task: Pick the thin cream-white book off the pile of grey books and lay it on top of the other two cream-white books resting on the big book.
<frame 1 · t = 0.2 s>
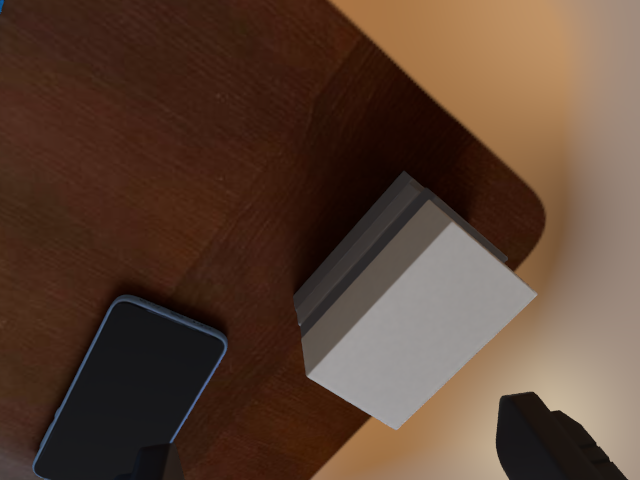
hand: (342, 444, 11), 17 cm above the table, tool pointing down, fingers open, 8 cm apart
smartphone: (129, 400, 30), on the table
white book: (403, 302, 24), point 5 cm above the table, touching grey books
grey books: (380, 261, 28), on the table
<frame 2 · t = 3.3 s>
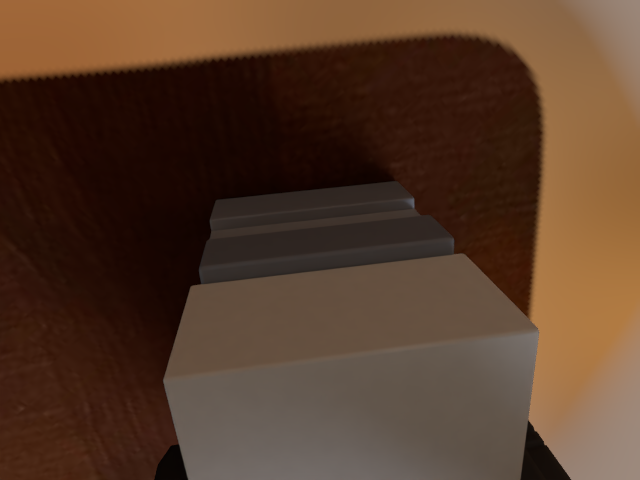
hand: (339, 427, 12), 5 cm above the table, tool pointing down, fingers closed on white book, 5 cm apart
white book: (342, 439, 12), point 5 cm above the table, touching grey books, gripper
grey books: (319, 328, 16), on the table
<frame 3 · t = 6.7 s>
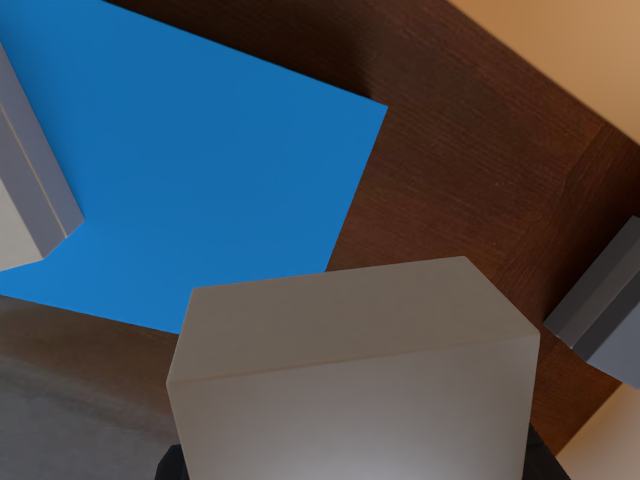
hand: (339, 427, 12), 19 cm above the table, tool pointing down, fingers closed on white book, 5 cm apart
book: (131, 167, 28), on the table, touching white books
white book: (343, 441, 12), point 20 cm above the table, touching gripper
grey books: (611, 286, 35), on the table
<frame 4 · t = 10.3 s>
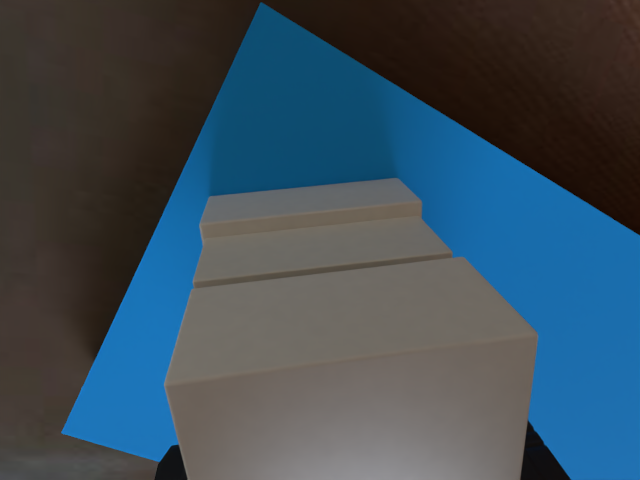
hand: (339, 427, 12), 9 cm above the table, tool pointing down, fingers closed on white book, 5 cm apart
book: (416, 326, 22), on the table, touching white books
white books: (316, 321, 17), point 4 cm above the table, touching book, gripper
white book: (342, 441, 12), point 9 cm above the table, touching gripper
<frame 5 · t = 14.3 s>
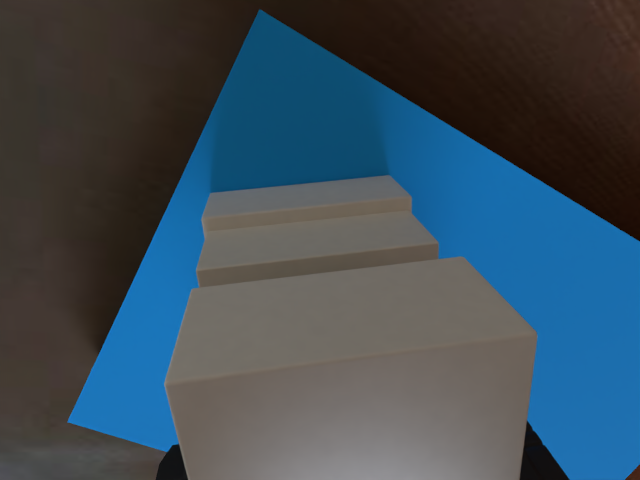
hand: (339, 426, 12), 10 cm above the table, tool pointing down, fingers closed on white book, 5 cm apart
book: (410, 320, 23), on the table, touching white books
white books: (312, 313, 17), point 4 cm above the table, touching book
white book: (342, 441, 12), point 10 cm above the table, touching gripper
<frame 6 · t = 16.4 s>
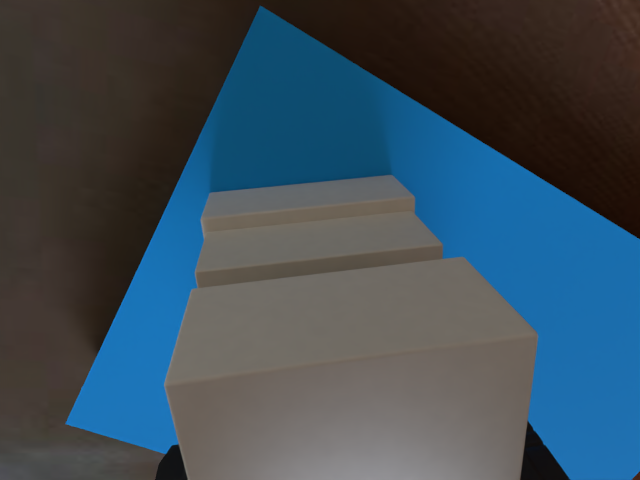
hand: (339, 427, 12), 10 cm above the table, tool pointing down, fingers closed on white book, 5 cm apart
book: (412, 322, 23), on the table, touching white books
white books: (313, 315, 17), point 4 cm above the table, touching book
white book: (342, 441, 12), point 10 cm above the table, touching gripper
when the fingers open (10 cm above the table, at t = 17.9 s): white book drops 1 cm, resting on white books.
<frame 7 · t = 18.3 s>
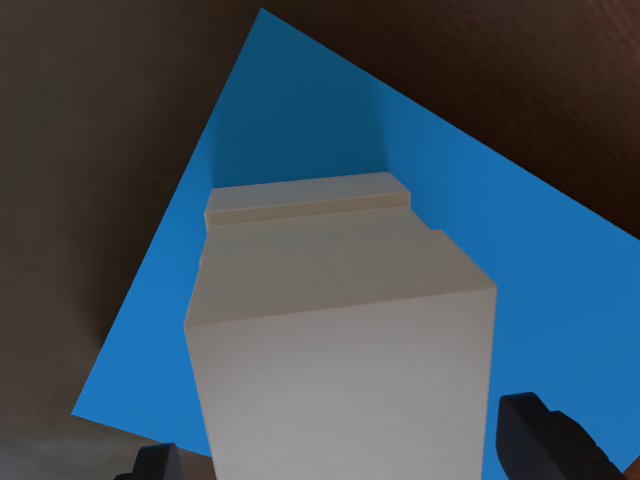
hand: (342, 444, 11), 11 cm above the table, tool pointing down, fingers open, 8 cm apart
book: (409, 316, 23), on the table, touching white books
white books: (313, 308, 18), point 4 cm above the table, touching book, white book
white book: (335, 398, 13), point 9 cm above the table, touching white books
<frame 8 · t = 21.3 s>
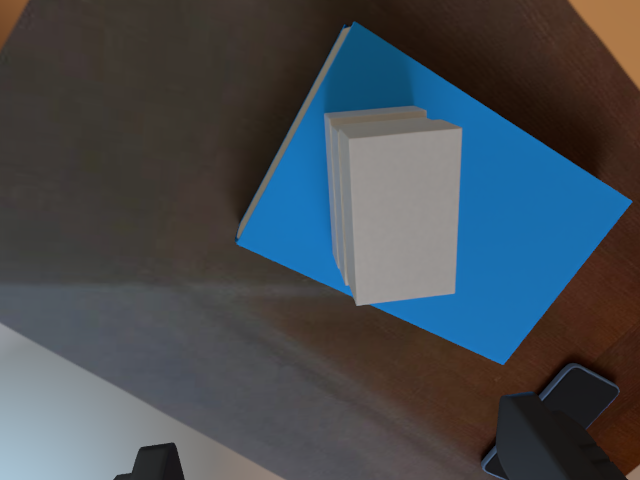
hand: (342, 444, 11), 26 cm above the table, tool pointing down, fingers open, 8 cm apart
book: (421, 207, 38), on the table, touching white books
smartphone: (545, 424, 49), on the table
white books: (371, 183, 32), point 4 cm above the table, touching book, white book
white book: (391, 205, 28), point 9 cm above the table, touching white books
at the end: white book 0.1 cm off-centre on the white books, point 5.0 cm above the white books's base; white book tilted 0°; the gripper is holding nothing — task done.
